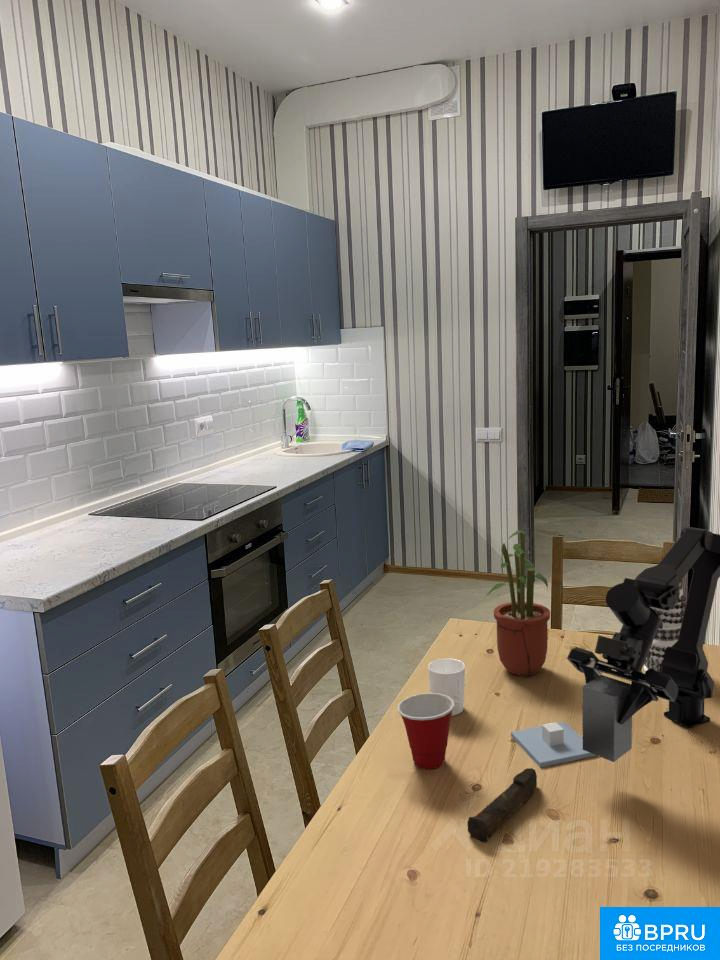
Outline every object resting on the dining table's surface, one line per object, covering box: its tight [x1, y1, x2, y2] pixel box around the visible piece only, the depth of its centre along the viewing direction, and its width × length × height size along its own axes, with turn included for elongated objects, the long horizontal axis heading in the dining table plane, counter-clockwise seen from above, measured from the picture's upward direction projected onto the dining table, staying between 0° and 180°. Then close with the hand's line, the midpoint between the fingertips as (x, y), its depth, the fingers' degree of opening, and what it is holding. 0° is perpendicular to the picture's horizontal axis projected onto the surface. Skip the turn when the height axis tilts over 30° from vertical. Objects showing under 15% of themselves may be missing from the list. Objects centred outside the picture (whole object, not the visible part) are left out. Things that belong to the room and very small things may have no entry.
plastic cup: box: [397, 692, 454, 771], centre depth 143 cm, size 11×11×12 cm
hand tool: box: [467, 767, 538, 843], centre depth 127 cm, size 19×4×5 cm, turn 135°
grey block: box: [582, 674, 633, 763], centre depth 132 cm, size 6×6×12 cm
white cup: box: [427, 657, 466, 717], centre depth 163 cm, size 8×8×10 cm
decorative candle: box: [643, 564, 687, 672], centre depth 175 cm, size 9×9×25 cm
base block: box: [510, 721, 597, 768], centre depth 147 cm, size 12×12×4 cm
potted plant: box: [482, 530, 551, 676], centre depth 180 cm, size 17×16×35 cm
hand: (603, 717), depth 131 cm, fingers closed on grey block, 6 cm apart
